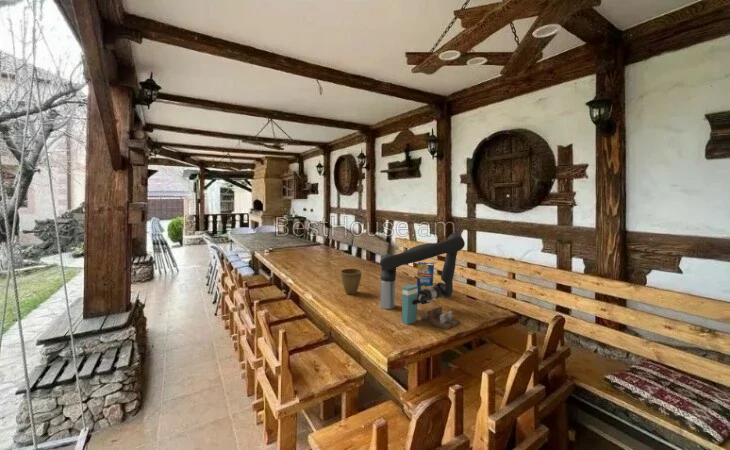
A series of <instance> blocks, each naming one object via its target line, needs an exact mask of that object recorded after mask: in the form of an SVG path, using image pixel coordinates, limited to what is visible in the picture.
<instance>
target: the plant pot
mask: <svg viewBox="0 0 730 450" xmlns="http://www.w3.org/2000/svg"><path fill="white" fill-rule="evenodd" d="M362 272H363V271H362V270H361V269H358V268H343V269H342V270H340V276H341V277H340V278H341V282H342V285H343V289H344V291H345V294H347V295H355V294H357V293H358V289H359V286H360V282H361V279H362Z"/></svg>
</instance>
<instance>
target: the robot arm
mask: <svg viewBox="0 0 730 450" xmlns="http://www.w3.org/2000/svg"><path fill="white" fill-rule="evenodd" d="M465 244H466V243H465V239H464V238H463V237H462V235H460V234H459V233H456V232H454V233H451V234H450V235H449V236H448V237H447V239H446V240H444V241H443V240H442V241H440V242H430V243H429V242H426V243H421V244H419V245H418V244H417V245H415V246H413V247H411V248H409V249H407V250H405V251H402V252H399V253H397V254H393V253H385V254H384V255H383V256H382V258H381V259H380V262H379V263H380V264H379V265H380V268H381V271H380V297H379V298H380V300H379V302H380V303H379V306H380V308H382V309H384V310H393V309H394V308H395V307H396V279H397V278H396V276H397V268H399V267H402V266H404V265H409V264H412V263H418V262H422V261H425V260H428V259H431V258H434V257H438V256H441V255H444V254H445V259H444V263H443V266H442V271H441V275H440V280H441V281H442V282H438V283H436V284H435V285H433V287H431V288H426V289H423V290H420V291H419V292H418V296H417V300H414V301H413V305H415V304H417V305H426V304H429V303H430V302H432V301H433V300H437V299H439V298H440V297H445V298H450V297H451V296H452V295H453V290H454V288H453V287H454V286H453V285H454V283H453V282H454V281H453V280H454V275H455V270H456V262H457V261H456V260H457V254H458V252H459V251H462V250H463V248H464V247H465V246H466V245H465Z"/></svg>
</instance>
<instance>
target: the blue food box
mask: <svg viewBox="0 0 730 450" xmlns="http://www.w3.org/2000/svg"><path fill="white" fill-rule="evenodd" d="M434 269H435V262H424V261H423V262H422V261H418V262H417V271H416V272H417V273H416V274H417V275H416V279H417V280H416V286H418V292H419V291H420V290H423V289H426V288H431V287H434V271H435V270H434Z"/></svg>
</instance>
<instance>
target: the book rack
mask: <svg viewBox="0 0 730 450" xmlns="http://www.w3.org/2000/svg"><path fill="white" fill-rule="evenodd" d="M426 312H427V313H426V315H425V316H422V317H421V318H420V321H421V322H423V323H426V324H429V325H431V326H433V327H435V328H439V329H441V330H443V331H446V330H448V329H450V328H452V327H455V326H457V325H459V324H460V323H461V320H459V319H457V318H453V317H452V316H453V311H452V310H450V311H447V312H445V313H443V306H438V307H436V308H433V309H430V310H429V311H426Z"/></svg>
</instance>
